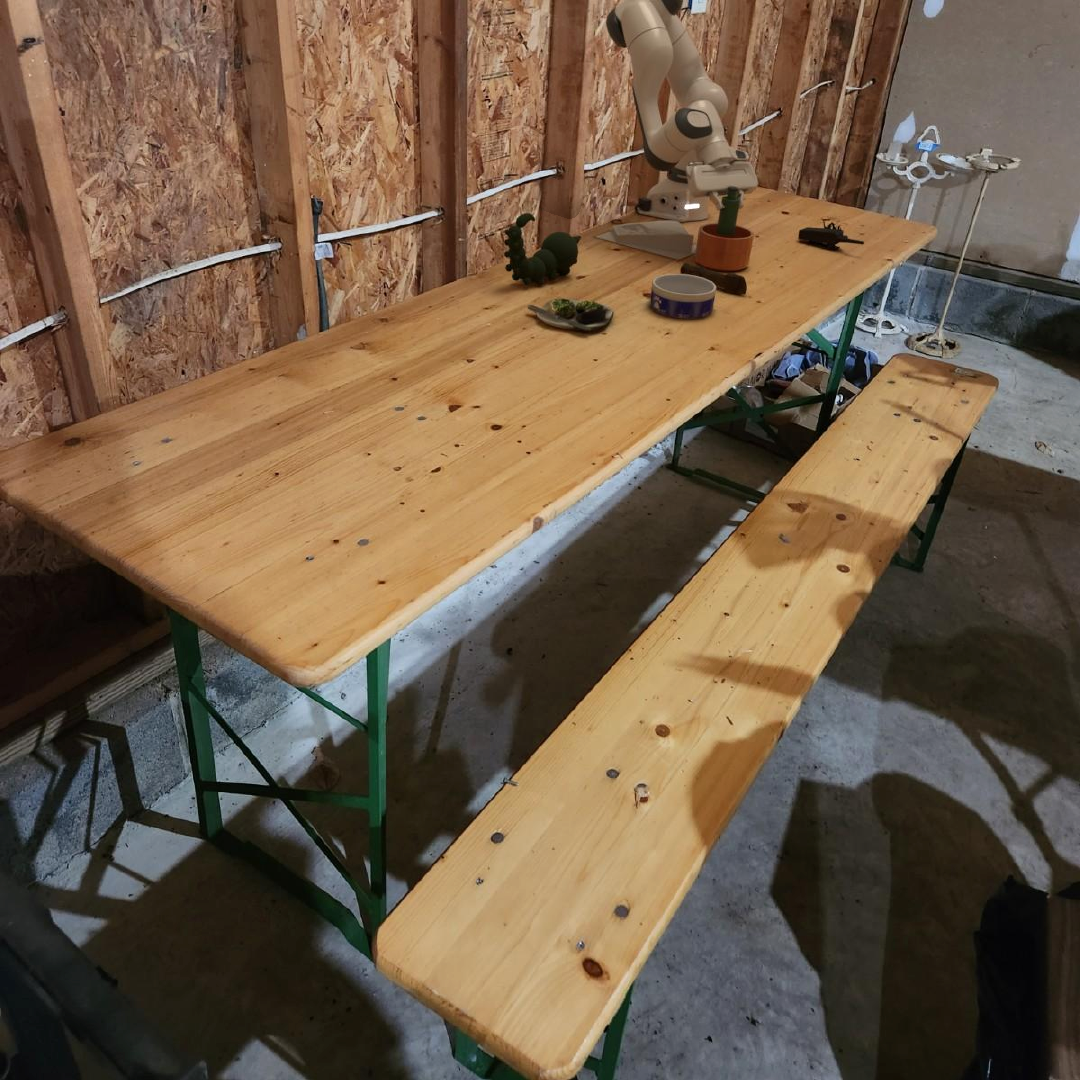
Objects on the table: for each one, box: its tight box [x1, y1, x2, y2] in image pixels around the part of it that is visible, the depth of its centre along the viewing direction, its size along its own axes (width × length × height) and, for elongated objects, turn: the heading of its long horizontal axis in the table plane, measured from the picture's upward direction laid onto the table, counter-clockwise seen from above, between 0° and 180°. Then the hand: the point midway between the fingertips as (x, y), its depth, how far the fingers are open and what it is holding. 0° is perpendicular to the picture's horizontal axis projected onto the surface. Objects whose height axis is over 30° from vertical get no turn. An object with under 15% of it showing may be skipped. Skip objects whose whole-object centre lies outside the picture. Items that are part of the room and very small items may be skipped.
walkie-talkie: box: [797, 226, 865, 251], centre depth 271 cm, size 6×6×20 cm
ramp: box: [595, 220, 697, 261], centre depth 266 cm, size 28×16×5 cm, turn 53°
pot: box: [694, 222, 755, 272], centre depth 252 cm, size 15×15×9 cm
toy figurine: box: [503, 212, 582, 287], centre depth 230 cm, size 9×19×25 cm
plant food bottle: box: [717, 186, 740, 235], centre depth 246 cm, size 5×5×12 cm
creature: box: [821, 217, 845, 234], centre depth 283 cm, size 8×5×8 cm
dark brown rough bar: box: [679, 262, 748, 295], centre depth 237 cm, size 19×4×5 cm, turn 48°
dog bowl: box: [649, 273, 717, 320], centre depth 223 cm, size 15×15×6 cm
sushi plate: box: [526, 297, 615, 334], centre depth 213 cm, size 19×18×5 cm
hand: (731, 208), depth 245 cm, fingers closed on plant food bottle, 5 cm apart
